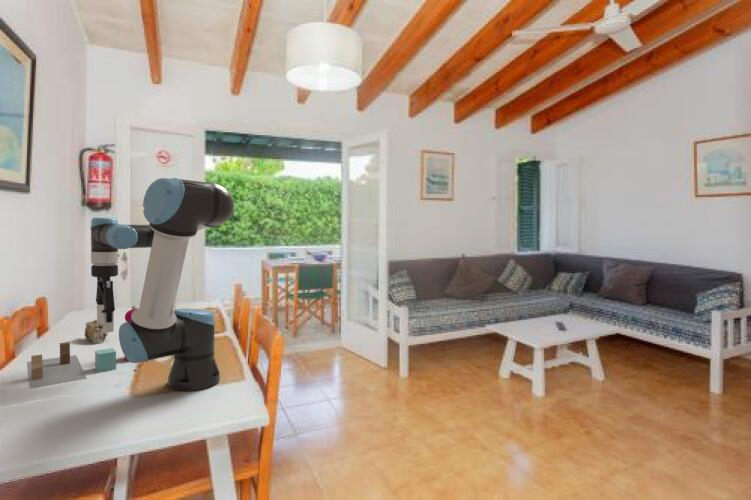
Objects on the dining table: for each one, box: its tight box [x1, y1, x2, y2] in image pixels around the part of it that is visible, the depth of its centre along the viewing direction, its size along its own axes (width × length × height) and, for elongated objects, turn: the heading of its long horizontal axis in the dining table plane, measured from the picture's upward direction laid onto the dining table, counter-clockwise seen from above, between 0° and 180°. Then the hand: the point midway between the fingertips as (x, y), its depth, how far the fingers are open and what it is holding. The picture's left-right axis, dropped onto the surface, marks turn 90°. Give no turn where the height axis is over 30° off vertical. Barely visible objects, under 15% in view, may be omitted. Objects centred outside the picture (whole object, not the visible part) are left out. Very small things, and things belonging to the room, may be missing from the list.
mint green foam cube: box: [94, 347, 117, 373], centre depth 144 cm, size 5×5×7 cm
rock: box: [84, 319, 109, 345], centre depth 180 cm, size 12×7×10 cm, turn 46°
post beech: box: [30, 354, 43, 380], centre depth 134 cm, size 3×3×7 cm
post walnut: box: [59, 341, 71, 365], centre depth 148 cm, size 3×3×7 cm
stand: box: [26, 354, 88, 389], centre depth 142 cm, size 30×14×1 cm, turn 40°
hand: (105, 327), depth 144 cm, fingers open, 13 cm apart
